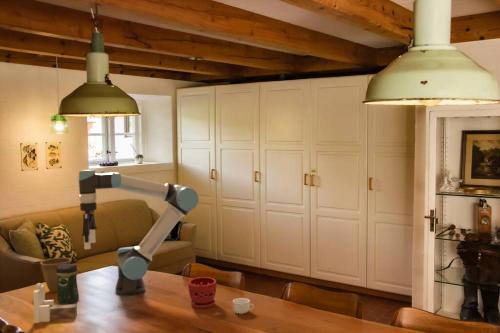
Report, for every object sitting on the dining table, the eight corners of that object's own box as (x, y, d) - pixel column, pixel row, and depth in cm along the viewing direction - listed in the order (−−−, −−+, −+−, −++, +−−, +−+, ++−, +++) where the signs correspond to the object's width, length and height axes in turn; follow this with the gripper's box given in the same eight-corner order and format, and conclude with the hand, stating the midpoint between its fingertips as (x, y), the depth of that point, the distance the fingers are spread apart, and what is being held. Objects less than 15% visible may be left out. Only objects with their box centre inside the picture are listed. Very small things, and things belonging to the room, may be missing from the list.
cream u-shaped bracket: (54, 314, 233) (53, 279, 232) (49, 322, 223) (47, 285, 222) (40, 315, 232) (38, 280, 231) (34, 323, 222) (32, 286, 221)
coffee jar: (81, 298, 254) (79, 262, 253) (72, 304, 246) (71, 266, 245) (64, 298, 256) (62, 261, 255) (55, 303, 248) (53, 266, 247)
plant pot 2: (183, 306, 240) (182, 281, 239) (204, 299, 250) (203, 275, 249) (201, 312, 231) (201, 286, 230) (222, 304, 241) (221, 280, 240)
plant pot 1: (77, 288, 271) (76, 259, 270) (54, 296, 259) (52, 265, 257) (60, 284, 279) (58, 256, 278) (36, 292, 267) (34, 262, 265)
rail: (77, 315, 232) (76, 303, 231) (75, 318, 227) (74, 306, 227) (44, 317, 230) (44, 305, 229) (42, 320, 226) (41, 309, 225)
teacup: (230, 314, 228) (230, 302, 228) (236, 308, 235) (236, 297, 235) (251, 316, 224) (250, 304, 224) (256, 310, 232) (256, 299, 231)
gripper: (85, 198, 254) (87, 240, 256) (74, 206, 230) (76, 252, 231) (100, 198, 255) (102, 239, 257) (91, 205, 231) (93, 251, 232)
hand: (90, 245), depth 244 cm, fingers open, 13 cm apart
